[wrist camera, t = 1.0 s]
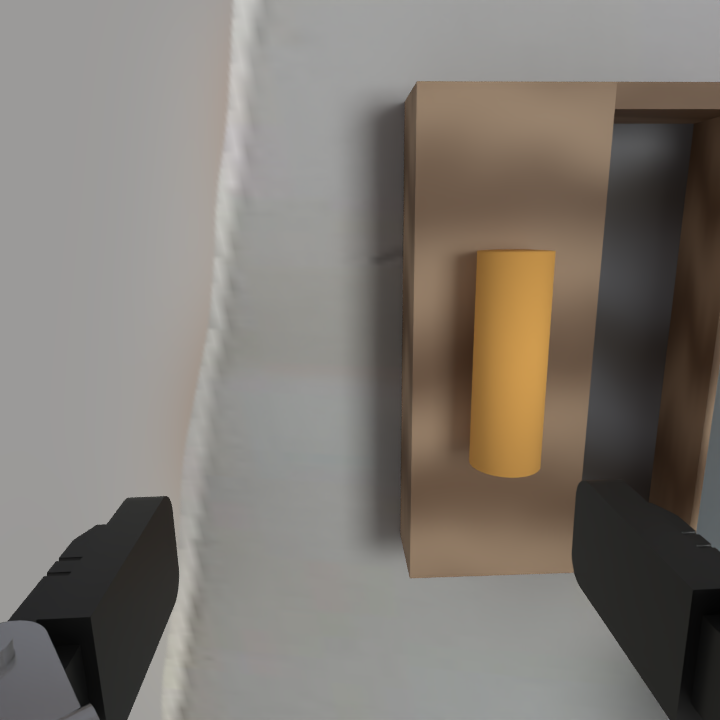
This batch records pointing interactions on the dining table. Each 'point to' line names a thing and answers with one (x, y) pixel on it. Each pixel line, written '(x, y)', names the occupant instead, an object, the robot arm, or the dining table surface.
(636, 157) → the wooden tray
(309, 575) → the dining table surface
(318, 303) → the dining table surface
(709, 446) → the cover
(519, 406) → the tall orange dowel
